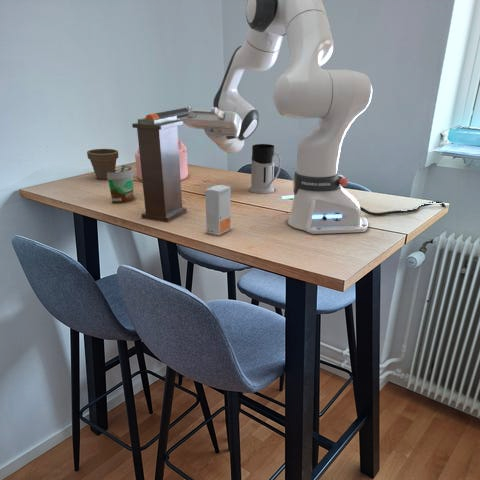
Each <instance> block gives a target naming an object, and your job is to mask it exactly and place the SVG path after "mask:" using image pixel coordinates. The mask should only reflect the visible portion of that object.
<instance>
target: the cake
mask: <svg viewBox="0 0 480 480" xmlns="http://www.w3.org/2000/svg"><path fill="white" fill-rule="evenodd" d="M178 145H179V162H180V178H181V181H182V180H186V179H187V178H188V176H189V171H188V170H189V167H188V153H187V152H188V149H189V148H187V146H186V145H185V144H184V143H183V142H182V141H181V139H178ZM134 156H135V157H134V158H135V167H136V176H137V179H138V180H140V181H142V172H141V162H140V152H139V148H138V149H137V151H136V152H135V154H134Z"/></svg>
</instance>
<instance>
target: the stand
mask: <svg viewBox="0 0 480 480" xmlns="http://www.w3.org/2000/svg"><path fill="white" fill-rule="evenodd" d="M131 125H132V129H136V132H137V140H138V149H139V152H140V162H141V172H142V180H141V182H142V190H143V191H142V192H143V201H144V209H145V211H144V212H143V213H141V219H145V220H152V221H157V222H165V223H169V222H171V221H172V220H174V219H176V218H179V217H180V216H181V215H183V214H185V213H187V209H188V208H187V207H183V198H182V197H183V194H182V180H181V178H180V162H179V145H178V140H179V132H178V126H182V125H184V123H183V121H182V120H180V119H178V118H177V116H175V115H174V116H169V117H165V118H160V119H155V120H146V117H142V118H137V122H135V123H132V124H131Z"/></svg>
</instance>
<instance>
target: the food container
mask: <svg viewBox="0 0 480 480" xmlns="http://www.w3.org/2000/svg"><path fill="white" fill-rule="evenodd" d="M134 176H135V171H134V169H133V166H130V165H127V164H121V168H119V169H115V171H114V172H113V173H109V172H107V180H108V186H109V191H110V197H111V202H112V204H125V203H130V202H132V201H134Z"/></svg>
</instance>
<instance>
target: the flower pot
mask: <svg viewBox="0 0 480 480" xmlns="http://www.w3.org/2000/svg"><path fill="white" fill-rule="evenodd" d="M86 156H87V159H88V160H90V163H91V166H92V170H93V172H94V174H95V177H96V179H98V180H101V181H102V180H103V181H106V180H107V172H109V173H113V172H114V171H115V170H116V167H117V160H118V158H119V150H118V149H113V148H94V149H90V150H87V151H86Z"/></svg>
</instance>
